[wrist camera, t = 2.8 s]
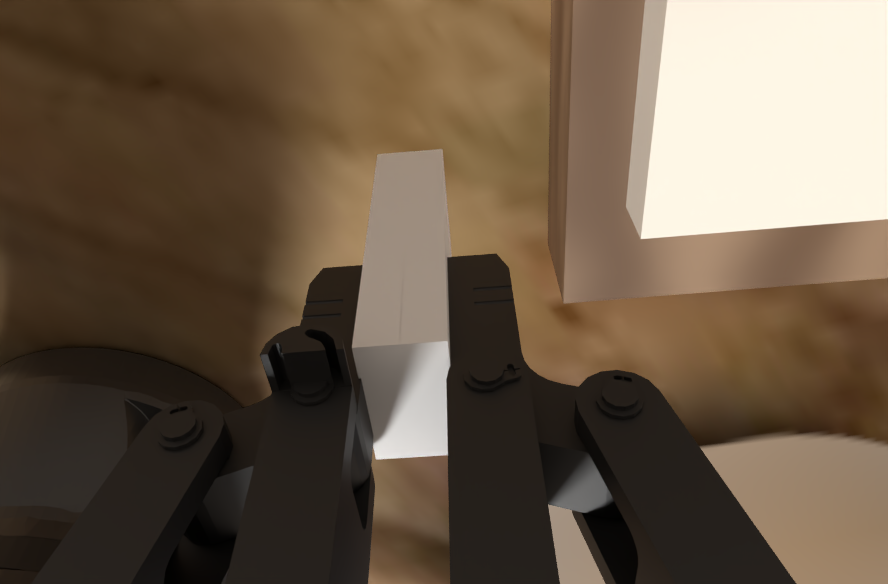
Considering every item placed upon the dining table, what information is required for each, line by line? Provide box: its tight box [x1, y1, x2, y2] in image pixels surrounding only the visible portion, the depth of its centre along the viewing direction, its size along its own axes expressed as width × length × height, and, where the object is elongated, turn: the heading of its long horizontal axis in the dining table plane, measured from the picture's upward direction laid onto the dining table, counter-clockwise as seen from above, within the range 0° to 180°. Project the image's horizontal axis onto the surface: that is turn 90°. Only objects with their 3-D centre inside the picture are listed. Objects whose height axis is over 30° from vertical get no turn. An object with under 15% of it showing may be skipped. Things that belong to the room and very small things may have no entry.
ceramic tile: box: [626, 0, 888, 239], centre depth 20 cm, size 8×8×2 cm
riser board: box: [548, 0, 888, 303], centre depth 22 cm, size 15×16×4 cm
